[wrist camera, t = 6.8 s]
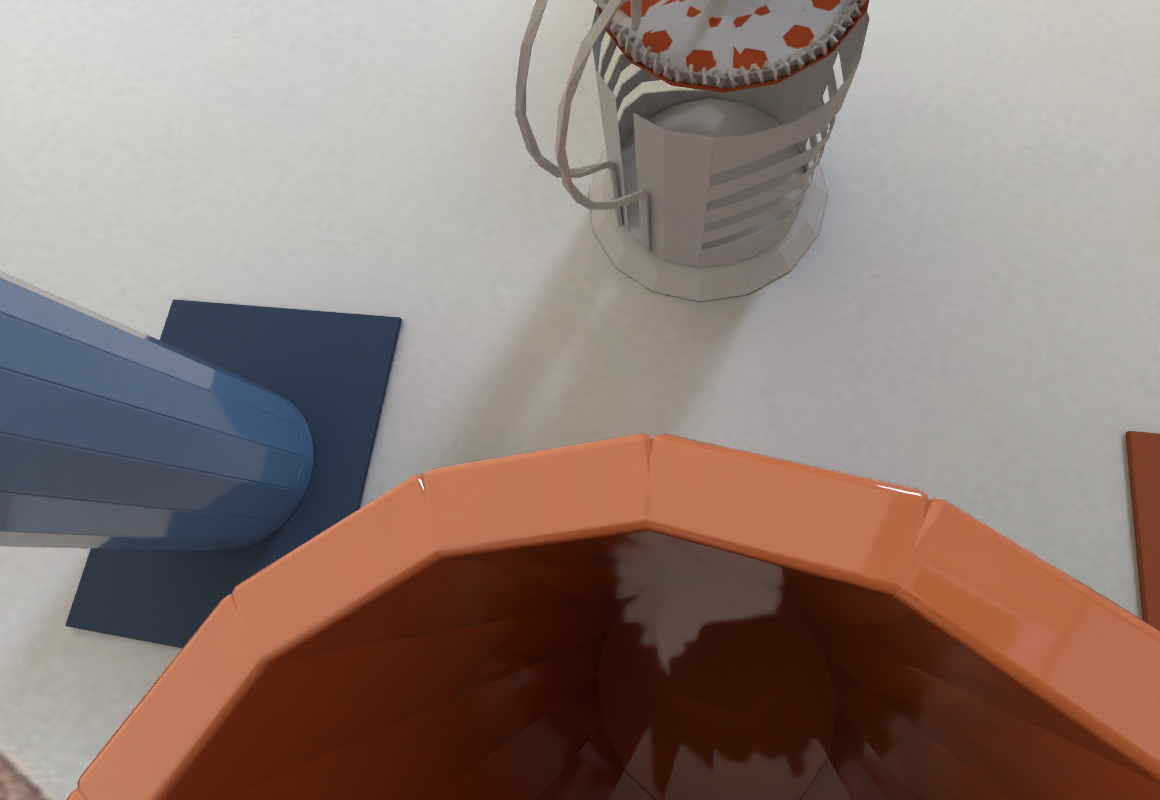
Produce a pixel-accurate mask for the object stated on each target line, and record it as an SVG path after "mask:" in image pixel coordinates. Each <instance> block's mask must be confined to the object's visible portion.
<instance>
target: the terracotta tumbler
mask: <svg viewBox="0 0 1160 800" xmlns="http://www.w3.org/2000/svg"><path fill="white" fill-rule="evenodd" d="M67 800H1160V630H1158V629H1156V628H1155V627H1153V626H1151V625H1150V624H1148V623H1146V622H1145V621H1143V620H1142V619H1140V618H1138V617H1137V616H1135V615H1133V614H1132V613H1130V612H1128V611H1127V610H1125V609H1124V608H1122V607H1120V606H1119V605H1117V604H1115V603H1114V602H1112V601H1110V600H1109V599H1107V598H1106V597H1104V596H1102V595H1101V594H1099V593H1097V592H1096V591H1094V590H1092V589H1091V588H1089V587H1088V586H1086V585H1084V584H1083V583H1081V582H1079V581H1078V580H1076V579H1074V578H1073V577H1071V576H1069V575H1068V574H1066V573H1065V572H1063V571H1061V570H1060V569H1058V568H1056V567H1055V566H1053V565H1051V564H1050V563H1048V562H1047V561H1045V560H1043V559H1042V558H1040V557H1038V556H1037V555H1035V554H1033V553H1032V552H1030V551H1029V550H1027V549H1025V548H1024V547H1022V546H1020V545H1019V544H1017V543H1015V542H1014V541H1012V540H1010V539H1009V538H1007V537H1006V536H1004V535H1002V534H1001V533H999V532H997V531H996V530H994V529H992V528H991V527H989V526H988V525H986V524H984V523H983V522H981V521H979V520H978V519H976V518H974V517H973V516H971V515H970V514H968V513H966V512H965V511H963V510H961V509H960V508H958V507H956V506H955V505H953V504H951V503H950V502H948V501H947V500H944V499H939V498H931V499H928V495H927V494H925V493H924V492H922V491H920V490H919V489H917V488H913V487H908V486H903V485H899V484H894V483H890V482H885V481H880V480H876V479H871V478H867V477H862V476H857V475H853V474H848V473H844V472H839V471H834V470H830V469H825V468H821V467H816V466H811V465H807V464H802V463H798V462H793V461H788V460H784V459H779V458H775V457H770V456H765V455H761V454H756V453H752V452H747V451H742V450H738V449H733V448H729V447H724V446H719V445H715V444H710V443H706V442H701V441H696V440H692V439H687V438H683V437H678V436H673V435H669V434H659V435H655V436H654V438H653V439H652V438H651V436H650V435H648V434H643V433H638V434H632V435H626V436H621V437H615V438H609V439H603V440H597V441H591V442H585V443H580V444H574V445H568V446H562V447H556V448H550V449H544V450H539V451H533V452H527V453H521V454H515V455H509V456H503V457H497V458H492V459H486V460H480V461H474V462H468V463H462V464H456V465H451V466H445V467H439V468H433V469H431V470H429V471H427V472H425V473H424V475H422V474H419V475H414V476H412V477H410V478H409V479H407V480H406V481H404V482H402V483H401V484H399V485H397V486H396V487H394V488H393V489H391V490H389V491H388V492H386V493H385V494H383V495H381V496H380V497H378V498H377V499H375V500H373V501H372V502H370V503H369V504H367V505H365V506H364V507H362V508H361V509H359V510H357V511H356V512H354V513H352V514H351V515H349V516H348V517H346V518H344V519H343V520H341V521H340V522H338V523H336V524H335V525H333V526H332V527H330V528H328V529H327V530H325V531H324V532H322V533H320V534H319V535H317V536H316V537H314V538H312V539H311V540H309V541H307V542H306V543H304V544H303V545H301V546H299V547H298V548H296V549H295V550H293V551H291V552H290V553H288V554H287V555H285V556H283V557H282V558H280V559H279V560H277V561H275V562H274V563H272V564H271V565H269V566H267V567H266V568H264V569H262V570H261V571H259V572H258V573H256V574H254V575H253V576H251V577H250V578H248V579H246V580H245V581H243V582H242V583H240V584H238V585H237V586H236V587H235V588H234V589H233V593H232V594H230V595H227V596H226V597H225V598H223V599H222V600H221V601H220V602H219V604H218V605H217V606H216V607H215V609H214V610H213V611H212V612H211V614H210V615H209V616H208V617H207V619H206V620H205V621H204V622H203V624H202V625H201V626H200V627H199V629H198V630H197V631H196V632H195V634H194V635H193V636H192V637H191V639H190V640H189V641H188V642H187V644H186V645H185V646H184V647H183V649H182V650H181V651H180V652H179V654H178V655H177V656H176V657H175V659H174V660H173V661H172V662H171V664H170V665H169V666H168V667H167V669H166V670H165V671H164V672H163V674H162V675H161V676H160V677H159V679H158V680H157V681H156V682H155V684H154V685H153V686H152V688H151V689H150V690H149V691H148V693H147V694H146V695H145V696H144V698H143V699H142V700H141V701H140V703H139V704H138V705H137V706H136V708H135V709H134V710H133V711H132V713H131V714H130V715H129V716H128V718H127V719H126V720H125V721H124V723H123V724H122V725H121V726H120V728H119V729H118V730H117V731H116V733H115V734H114V735H113V736H112V738H111V739H110V740H109V741H108V743H107V744H106V745H105V746H104V748H103V749H102V750H101V751H100V753H99V754H98V755H97V756H96V758H95V759H94V760H93V761H92V763H91V764H90V765H89V766H88V768H87V769H86V770H85V771H84V773H83V774H82V775H81V776H80V778H79V781H78V788H77V789H75V790H74V791H73V792H72V793H71V794H70V796H69V797H68V798H67Z"/></svg>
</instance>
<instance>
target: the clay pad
mask: <svg viewBox="0 0 1160 800" xmlns="http://www.w3.org/2000/svg"><path fill="white" fill-rule="evenodd" d="M1126 438H1127V448H1128V459H1129V469H1130V480H1131V490H1132V501H1133V512H1134V522H1135V533H1136V543H1137V554H1138V564H1139V575H1140V586H1141V596H1142V607H1143V617H1144V621H1145V622H1146V623H1148V624H1150V625H1151V626H1153V627H1155V628H1156V629H1158V630H1160V434H1156V433H1145V432H1135V431H1129V432H1126Z"/></svg>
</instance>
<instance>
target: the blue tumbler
mask: <svg viewBox="0 0 1160 800" xmlns="http://www.w3.org/2000/svg"><path fill="white" fill-rule="evenodd" d="M313 459H314V450H313V441H312V436H311V432H310V430H309V427H308V424H307V422H306V420H305V418H304V417H303V415H302V414H301V412H300V411H299V410H298V408H297V407H296V406H295V405H294V404H293V403H292V402H290V401H289V400H287V399H286V398H285V397H283V396H281V395H279V394H277V393H275V392H273V391H270V390H268V389H267V388H265V387H263V386H262V385H260V384H257V383H255V382H253V381H251V380H248V379H246V378H244V377H241V376H239V375H237V374H235V373H232V372H230V371H228V370H225V369H223V368H221V367H219V366H216V365H214V364H212V363H210V362H207V361H205V360H203V359H200V358H198V357H196V356H194V355H191V354H189V353H187V352H184V351H182V350H180V349H178V348H175V347H173V346H171V345H169V344H166V343H164V342H162V341H159V340H157V339H155V338H153V337H150V336H148V335H146V334H143V333H141V332H139V331H137V330H134V329H132V328H130V327H128V326H125V325H123V324H121V323H118V322H116V321H114V320H112V319H109V318H107V317H105V316H102V315H100V314H98V313H96V312H93V311H91V310H89V309H87V308H84V307H82V306H80V305H77V304H75V303H73V302H71V301H68V300H66V299H64V298H61V297H59V296H57V295H55V294H52V293H50V292H48V291H46V290H43V289H41V288H39V287H36V286H34V285H32V284H30V283H27V282H25V281H23V280H20V279H18V278H16V277H14V276H11V275H9V274H7V273H5V272H2V271H0V546H7V547H54V548H100V549H147V550H193V551H216V550H230V549H237V548H242V547H246V546H249V545H251V544H254V543H256V542H258V541H260V540H262V539H264V538H266V537H267V536H269V535H270V534H272V533H273V532H275V531H276V530H277V529H278V528H279V527H280V526H282V525H283V524H284V523H285V521H286V520H287V519H288V518H289V517H290V516H291V515H292V513H293V512H294V511H295V509H296V508H297V507H298V505H299V503H300V502H301V500H302V498H303V496H304V494H305V492H306V489H307V487H308V484H309V481H310V478H311V474H312V468H313Z"/></svg>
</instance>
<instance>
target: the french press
mask: <svg viewBox="0 0 1160 800" xmlns="http://www.w3.org/2000/svg"><path fill="white" fill-rule="evenodd" d="M547 1H548V0H536V3H535V6H534V9H533V12H532V15H531V18H530V21H529V24H528V27H527V30H526V33H525V36H524V39H523V42H522V45H521V52H520V60H519V68H518V76H517V84H516V110H515V114H516V118H517V121H518V124H519V127H520V130H521V133H522V136H523V139H524V142H525V145H526V148H527V151H528V152H529V153H530V155H531V156H532V157H533V158H534V160H535V161H536V162H537V163H538V165H539V166H540V167H542V168H543V169H545V170H546V171H548V172H549V173H551V174H553V175H554V176H556V177H562V181H563V185H564V187H565V188H566V190H567V191H568V192H569V193H570V195H571V196H572V197H573V199H574V200H575V201H576V202H577V203H579V204H581V205H582V206H584V207H586V208H588V209H591V218H592V226H593V232H594V234H595V235H596V237H597V239H598V240H599V242H600V243H601V245H602V247H603V248H604V250H605V251H606V253H607V254H608V256H609V258H610V259H611V261H612V262H613V264H614V266H615V267H616V268H618V269H619V270H621V271H622V272H624V273H625V274H627V275H628V276H630V277H631V278H633V279H634V280H636V281H637V282H639V283H640V284H642V285H643V286H645V287H646V288H648V289H649V290H651V291H652V292H657V293H662V294H666V295H671V296H676V297H680V298H685V299H690V300H694V301H699V302H700V301H706V300H713V299H720V298H727V297H734V296H741V295H748V294H750V293H752V292H753V291H755V290H757V289H759V288H761V287H762V286H764V285H766V284H768V283H769V282H771V281H773V280H775V279H777V278H778V277H780V276H782V275H784V274H786V273H787V272H789V271H791V269H792V268H793V267H794V266H795V264H796V263H797V262H798V260H799V259H800V258H801V257H802V255H803V254H804V253H805V252H806V250H807V249H808V248H809V247H810V245H811V244H812V243H813V241H814V240H815V239H816V238H817V236H818V235H819V230H820V226H821V221H822V217H823V213H824V208H825V204H826V200H827V195H828V193H827V189H826V185H825V181H824V177H823V173H822V169H821V165H820V159H821V156H822V153H823V151H824V145H825V143H826V142H827V140H828V139H829V137H830V134H831V131H832V128H833V126H834V122H835V116H836V114H837V113H838V112H839V110H840V109H841V107H842V104H843V102H844V99H845V97H846V94H847V92H848V89H849V87H850V84H851V82H852V79H853V76H854V74H855V71H856V69H857V66H858V64H859V61H860V57H861V53H862V49H863V44H864V40H865V36H866V31H867V27H868V22H869V16H868V13H867V8H868V3H869V0H594V1H595V2H596V4H597V5H598V6H597V8H596V12H595V16H594V20H593V25H592V28H591V29H590V31H589V32H588V34H587V35H586V37H585V38H584V40H583V41H582V43H581V46H580V49H579V51H578V54H577V57H576V60H575V63H574V66H573V68H572V71H571V74H570V77H569V80H568V82H567V85H566V88H565V91H564V94H563V97H562V99H561V102H560V105H559V109H558V121H557V134H556V146H555V152H556V157H557V162H558V166H559V168H558V167H557V166H555V165H554V164H553V163H551V162H550V161H548V160H547V159H546V158H544V157H543V156H541V153H540V151H539V148H538V146H537V143H536V140H535V138H534V135H533V133H532V130H531V128H530V125H529V122H528V120H527V117H526V81H527V75H528V68H529V62H530V55H531V49H532V45H533V42H534V39H535V36H536V33H537V30H538V27H539V24H540V21H541V18H542V15H543V12H544V9H545V6H546V4H547ZM606 31H607V33H608V34H609V35H610V37H611V38H610V41H609V43H608V46H607V48H606V51H605V53H604V55H603V58H602V62H601V71H600V74H599V73H598V65H599V56H600V48H601V42H602V39H603V37H604V34H605V32H606ZM616 46H618V47H619V49H620V50H621V51H622V54H621V55H620V56H619V57H618V60H617V62H616V65H615V67H614V70H613V72H612V75H611V77H610V80H609V83H608V85H607V84H606V83H605V81H604V75H605V73H606V70H607V68H608V65H609V63H610V60H611V58H612V56H613V53H614V51H615V48H616ZM592 47H593V55H594V62H595V70H596V78H597V85H598V93H599V101H600V108H601V116H602V123H603V131H604V138H605V146H606V150H605V151H604V152H603V153H602V155H601V157H600V160H599V163H598V164H594V165H590V166H586V167H582V168H578V169H569V166H568V161H567V156H566V151H565V143H566V136H567V129H568V121H569V114H570V107H571V102H572V99H573V96H574V94H575V91H576V88H577V86H578V83H579V80H580V78H581V75H582V73H583V70H584V67H585V65H586V62H587V59H588V57H589V54H590V51H591V49H592ZM838 52H839V55H840V62H841V68H842V74H843V80H844V82H843V84H842V85H841V87H840V88H839V89H838V91H837V87H836V81H835V76H834V70H833V65H834V63H835V60H836V57H837V54H838ZM631 63H633V64H634V65H636V66H638V67H639V68H641V69H639V70H638V71H637V72H636V73H634V74H633V75H632V76H631V77H629V78H628V79H627V80H626V81H624V82H623V83H622V84H621V86H620V89H619V91H618V94H617V96H616V97H615V95H614V94H613V90H614V88H615V85H616V83H617V80H618V78H619V76H620V73H621V71H623V70H624V69H625V68H626V67H627V66H629V65H630V64H631ZM655 80H663V81H665V82H666V83H668V84H670V85H673V86H679V87H686V88H693V89H700V90H669V91H659V92H648V93H642V94H641V95H640V96H638V97H637V98H636V99H635V100H634V101H632V102H631V103H630V104H629V105H628V106H626V107H625V108H624V109H623V111H622V114H621V116H620V118H619V121H618V118H617V112H618V110H619V107H620V105H621V103H622V100H623V98H624V97H625V96H626V95H628V94H629V93H630V92H631V91H632V90H633V89H635V88H636V87H637V86H638V85H639V84H640V83H642V82H647V81H655ZM827 85H828V92H829V98H830V101H829V102H827V103H825V104H824V102H823V94H824V91H825V89H826V86H827ZM829 123H830V128H829V132H828V134H827V129H828V124H829ZM820 132H821V136H822V140H821V141H820V142H819V143H817V138H816V134H818V133H820ZM826 134H827V135H826ZM808 138H809V139H810V144H809V143H808V142H807V140H808ZM819 151H820V154H819V157H818V153H819ZM594 172H595V175H594V178H593V181H592V184H591V187H590V190H589V199H588V198H587V197H585V196H583V195H582V194H581V193H580V191H579V190H578V189H577V188H576V187H575V185H574V184H573V183H572V181H571V178H580V177H583V176H586V175H589V174H592V173H594Z"/></svg>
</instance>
